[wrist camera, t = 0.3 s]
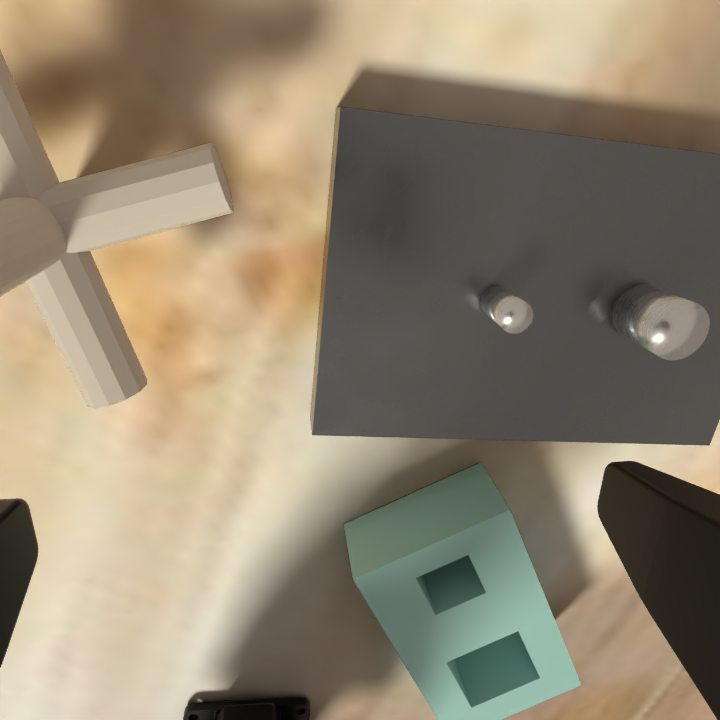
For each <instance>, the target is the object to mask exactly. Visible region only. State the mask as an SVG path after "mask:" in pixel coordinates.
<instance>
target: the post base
mask: <svg viewBox="0 0 720 720" xmlns="http://www.w3.org/2000/svg"><path fill="white" fill-rule="evenodd" d="M719 419H720V154H714V153H706V152H698V151H690V150H682V149H674V148H666V147H658V146H650V145H643V144H635V143H627V142H619V141H611V140H603V139H595V138H587V137H579V136H571V135H563V134H555V133H547V132H539V131H531V130H523V129H515V128H507V127H499V126H491V125H483V124H475V123H467V122H459V121H451V120H443V119H435V118H427V117H419V116H411V115H403V114H395V113H387V112H379V111H371V110H363V109H355V108H347V107H338V108H336V115H335V127H334V139H333V151H332V163H331V175H330V187H329V199H328V211H327V223H326V234H325V246H324V258H323V270H322V282H321V294H320V306H319V318H318V330H317V342H316V354H315V366H314V378H313V390H312V402H311V414H310V420H311V429H312V435H328V436H367V437H406V438H444V439H483V440H522V441H560V442H599V443H638V444H676V445H710V443H711V440H712V437H713V435H714V432H715V430H716V427H717V425H718V422H719Z"/></svg>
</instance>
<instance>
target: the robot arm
mask: <svg viewBox="0 0 720 720" xmlns="http://www.w3.org/2000/svg"><path fill="white" fill-rule="evenodd" d="M598 514H599V518H600V520H601V522H602V524H603V526H604V528H605V530H606V532H607V534H608V536H609V538H610V540H611V542H612V544H613V546H614V548H615V550H616V552H617V554H618V556H619V557H620V559H621V561H622V563H623V565H624V567H625V569H626V571H627V573H628V575H629V577H630V579H631V581H632V583H633V585H634V587H635V589H636V591H637V592H638V594H639V596H640V598H641V600H642V601H643V603H644V605H645V606H646V608H647V610H648V611H649V613H650V615H651V616H652V618H653V619H654V621H655V622H656V624H657V626H658V627H659V629H660V630H661V632H662V633H663V635H664V637H665V638H666V640H667V641H668V643H669V644H670V646H671V648H672V649H673V651H674V652H675V654H676V655H677V657H678V658H679V660H680V662H681V663H682V665H683V666H684V668H685V669H686V671H687V673H688V674H689V676H690V677H691V679H692V680H693V682H694V684H695V685H696V687H697V688H698V690H699V691H700V693H701V695H702V696H703V698H704V699H705V701H706V702H707V704H708V705H709V707H710V709H711V710H712V712H713V713H714V715H715V716H716V718H717V720H720V495H719V494H717V493H714V492H712V491H709V490H707V489H704V488H701V487H699V486H696V485H694V484H691V483H689V482H686V481H684V480H681V479H678V478H676V477H673V476H671V475H668V474H666V473H663V472H661V471H658V470H655V469H653V468H650V467H648V466H645V465H643V464H640V463H638V462H634V461H623V462H612V463H610V464H608V465H607V467H606V468H605V471H604V476H603V481H602V485H601V490H600V495H599V499H598ZM37 557H38V543H37V539H36V534H35V530H34V526H33V522H32V517H31V513H30V509H29V506H28V504H27V502H26V501H24V500H23V499H20V498H17V499H0V667H1V665H2V662H3V660H4V657H5V654H6V651H7V649H8V646H9V643H10V640H11V637H12V634H13V631H14V628H15V625H16V622H17V619H18V616H19V613H20V610H21V607H22V604H23V601H24V598H25V595H26V592H27V589H28V586H29V583H30V580H31V577H32V574H33V571H34V568H35V565H36V562H37ZM309 718H310V702H309V700H308V699H306V698H287V699H268V700H249V701H230V702H211V703H194V704H190V705H188V706H187V707H186V708H185V711H184V718H183V720H309Z"/></svg>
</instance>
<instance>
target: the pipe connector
mask: <svg viewBox="0 0 720 720" xmlns="http://www.w3.org/2000/svg"><path fill="white" fill-rule="evenodd" d="M230 213H234V211H233V202H232V198H231V194H230V190H229V187H228V183H227V180H226V177H225V174H224V171H223V168H222V165H221V162H220V160H219V157H218V155H217V153H216V150H215V148H214V146H213V145H212V144H211V143H208V144H204V145H200V146H197V147H193V148H189V149H185V150H182V151H178V152H174V153H170V154H166V155H163V156H159V157H155V158H151V159H147V160H144V161H140V162H136V163H132V164H128V165H125V166H121V167H117V168H113V169H109V170H106V171H102V172H98V173H94V174H91V175H87V176H83V177H79V178H75V179H72V180H68V181H64V182H60V183H59V181H58V178H57V176H56V174H55V172H54V169H53V167H52V165H51V163H50V160H49V158H48V156H47V154H46V151H45V149H44V147H43V145H42V143H41V140H40V138H39V136H38V134H37V131H36V129H35V127H34V125H33V122H32V120H31V118H30V116H29V113H28V111H27V109H26V107H25V104H24V102H23V100H22V98H21V95H20V93H19V91H18V89H17V86H16V84H15V82H14V80H13V77H12V75H11V73H10V71H9V68H8V66H7V64H6V62H5V59H4V57H3V55H2V53H1V50H0V296H2V295H4V294H5V293H7V292H9V291H10V290H12V289H14V288H15V287H17V286H19V285H20V284H22V283H24V282H25V283H26V285H27V287H28V289H29V291H30V293H31V295H32V297H33V299H34V301H35V303H36V305H37V307H38V309H39V311H40V313H41V315H42V317H43V319H44V321H45V323H46V325H47V327H48V329H49V331H50V333H51V335H52V337H53V339H54V341H55V343H56V345H57V347H58V348H59V350H60V352H61V354H62V356H63V358H64V360H65V362H66V364H67V366H68V368H69V370H70V372H71V374H72V376H73V378H74V380H75V382H76V384H77V386H78V388H79V390H80V392H81V394H82V396H83V398H84V400H85V402H86V404H87V406H90V407H93V408H98V407H104V406H110V405H113V404H115V403H118V402H121V401H123V400H126V399H128V398H129V397H131V396H133V395H135V394H136V393H138V392H140V391H141V390H142V389H143V388H144V387H145V386H146V385H147V378H146V376H145V374H144V371H143V369H142V367H141V365H140V362H139V360H138V358H137V356H136V354H135V351H134V349H133V347H132V345H131V342H130V340H129V338H128V336H127V333H126V331H125V329H124V327H123V324H122V322H121V320H120V318H119V315H118V313H117V311H116V309H115V306H114V304H113V302H112V300H111V297H110V295H109V293H108V291H107V288H106V286H105V284H104V282H103V279H102V277H101V275H100V273H99V270H98V268H97V266H96V264H95V261H94V259H93V257H92V255H91V253H90V251H92V250H96V249H100V248H103V247H107V246H111V245H115V244H118V243H122V242H126V241H129V240H133V239H137V238H141V237H144V236H148V235H152V234H156V233H159V232H163V231H167V230H170V229H174V228H178V227H182V226H185V225H189V224H193V223H197V222H200V221H204V220H208V219H211V218H215V217H219V216H223V215H226V214H230Z"/></svg>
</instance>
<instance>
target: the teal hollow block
mask: <svg viewBox="0 0 720 720" xmlns="http://www.w3.org/2000/svg"><path fill="white" fill-rule="evenodd" d="M344 530H345V536H346V542H347V548H348V553H349V559H350V565H351V571H352V577H353V581H354V582H355V584H356V586H357V587H358V589H359V591H360V592H361V594H362V596H363V597H364V599H365V601H366V602H367V604H368V605H369V607H370V609H371V610H372V612H373V614H374V615H375V617H376V619H377V620H378V622H379V624H380V625H381V627H382V628H383V630H384V632H385V633H386V635H387V637H388V638H389V640H390V642H391V643H392V645H393V647H394V648H395V650H396V652H397V653H398V655H399V656H400V658H401V660H402V661H403V663H404V665H405V666H406V668H407V670H408V671H409V673H410V675H411V676H412V678H413V679H414V681H415V683H416V684H417V686H418V688H419V689H420V691H421V693H422V694H423V696H424V698H425V699H426V701H427V702H428V704H429V706H430V707H431V709H432V711H433V712H434V714H435V716H436V717H437V719H438V720H501V719H503V718H506V717H508V716H510V715H513V714H515V713H517V712H520V711H522V710H524V709H527V708H529V707H531V706H534V705H536V704H538V703H541V702H543V701H545V700H548V699H550V698H552V697H555V696H557V695H559V694H562V693H564V692H566V691H569V690H571V689H573V688H575V687H578V686H580V685H581V683H580V680H579V678H578V676H577V673H576V671H575V668H574V666H573V663H572V661H571V658H570V656H569V653H568V651H567V648H566V646H565V644H564V641H563V639H562V636H561V634H560V631H559V629H558V626H557V624H556V621H555V619H554V617H553V614H552V612H551V609H550V607H549V604H548V602H547V599H546V597H545V594H544V592H543V589H542V587H541V585H540V582H539V580H538V577H537V575H536V572H535V570H534V567H533V565H532V562H531V560H530V557H529V555H528V553H527V550H526V548H525V545H524V543H523V540H522V538H521V535H520V533H519V530H518V528H517V526H516V523H515V521H514V518H513V516H512V513H511V511H510V509H509V507H508V505H507V504H506V502H505V501H504V499H503V497H502V496H501V494H500V492H499V491H498V489H497V488H496V486H495V484H494V483H493V481H492V479H491V478H490V476H489V474H488V473H487V471H486V470H485V468H484V466H483V465H482V463H481V462H480V463H478V464H476V465H473V466H471V467H469V468H467V469H465V470H462V471H460V472H458V473H456V474H454V475H451V476H449V477H447V478H445V479H442V480H440V481H438V482H436V483H434V484H431V485H429V486H427V487H425V488H423V489H420V490H418V491H416V492H414V493H411V494H409V495H407V496H405V497H403V498H400V499H398V500H396V501H394V502H391V503H389V504H387V505H385V506H383V507H380V508H378V509H376V510H374V511H372V512H369V513H367V514H365V515H363V516H360V517H358V518H356V519H354V520H352V521H349V522H347V523H345V524H344Z"/></svg>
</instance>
